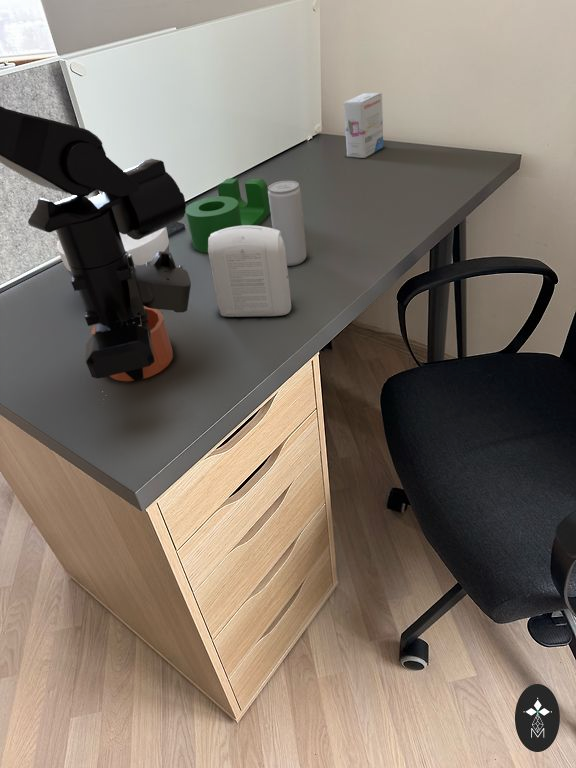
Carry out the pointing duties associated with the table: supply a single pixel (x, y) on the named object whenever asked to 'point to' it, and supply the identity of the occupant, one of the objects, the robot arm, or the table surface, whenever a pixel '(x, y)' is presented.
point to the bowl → (136, 247)
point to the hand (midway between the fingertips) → (139, 378)
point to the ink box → (364, 124)
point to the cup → (159, 344)
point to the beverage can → (288, 219)
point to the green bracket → (227, 210)
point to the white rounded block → (250, 271)
